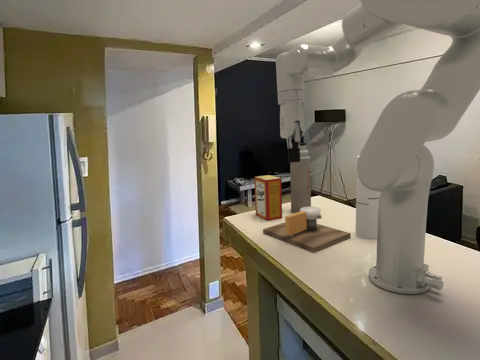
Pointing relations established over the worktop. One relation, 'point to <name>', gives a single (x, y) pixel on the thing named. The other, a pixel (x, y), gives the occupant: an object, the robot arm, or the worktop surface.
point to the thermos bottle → (301, 181)
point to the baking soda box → (268, 197)
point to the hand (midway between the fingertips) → (294, 161)
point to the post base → (309, 236)
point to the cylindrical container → (366, 211)
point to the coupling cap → (300, 219)
